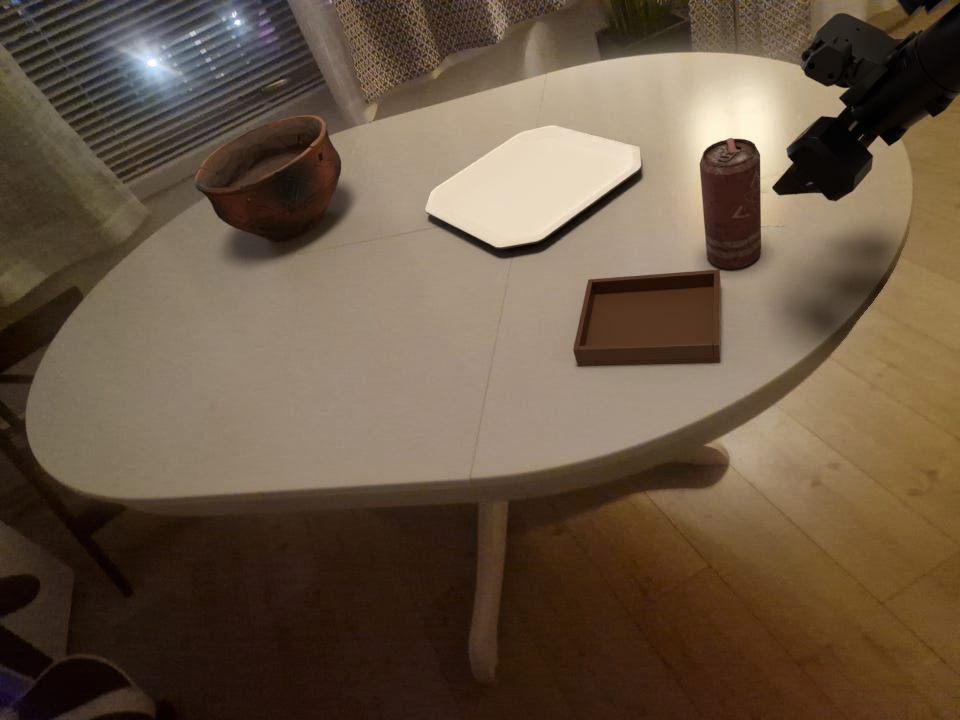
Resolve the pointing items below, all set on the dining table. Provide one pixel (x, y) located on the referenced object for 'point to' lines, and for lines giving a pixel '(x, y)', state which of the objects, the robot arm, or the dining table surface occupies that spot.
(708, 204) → the can
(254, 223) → the bowl
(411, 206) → the dining table surface
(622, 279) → the tray
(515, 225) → the plate
